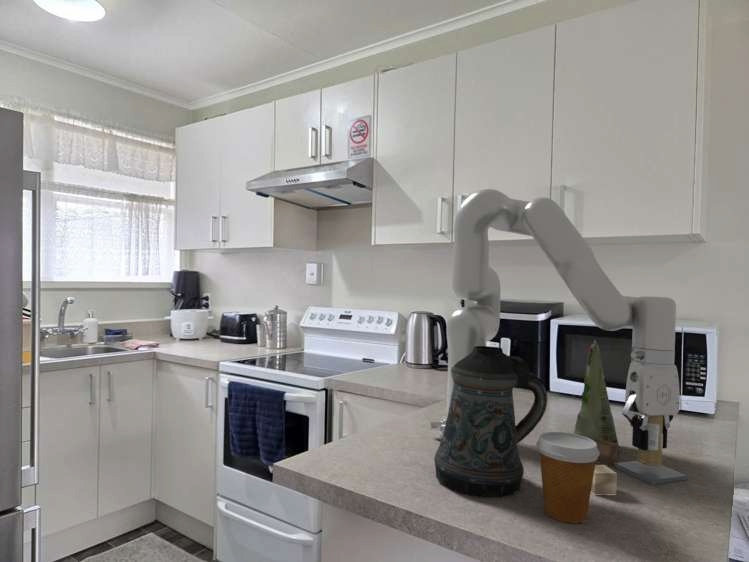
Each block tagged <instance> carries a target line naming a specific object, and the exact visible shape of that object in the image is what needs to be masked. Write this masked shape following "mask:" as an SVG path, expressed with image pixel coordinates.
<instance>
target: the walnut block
mask: <svg viewBox="0 0 749 562" xmlns="http://www.w3.org/2000/svg"><path fill="white" fill-rule="evenodd" d="M594 441H595V442H596V444H597V449H598V450H599V452H600V454H599V456H598V459H597V460H596V463H597V462H599V463H598V464H601V463H602V464H601V465H604V464H605V466H607V465H608V466H612V465H614V464H615V462H616V463H618V452H617V443H613V442H609V441H605V440H602V439H597V440H594ZM613 463H614V464H613ZM611 464H612V465H611ZM608 466H607V467H608Z"/></svg>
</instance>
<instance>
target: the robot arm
mask: <svg viewBox="0 0 749 562" xmlns="http://www.w3.org/2000/svg"><path fill="white" fill-rule="evenodd" d="M489 228H492V229H494V230H497V231H500V232H506V233H511V234H517V235H523V236H528V237H529V236H530V237H532V238H533V240H534V241H535V242H536V243H537V245H538V246H539V248H540V249H541V251H542V252H543V253H544V254H545V256H546V258H547V259H548V260H549V262H550V263H551V265H552V266H553V267H554V269H555V270H556V272H557V274H558V275H559V277H560V278H561V279H562V281H563V282H564V284H565V285H566V287H567V288H568V289H569V291H570V292H571V294H572V295H573V297H574V298H575V300H576V301H577V302H578V304H579V305H580V307H581V308H582V310H583V311H584V312H585V314H586V315H587V316H588V318H589V319H590V320H591V322H592V323H594V325H595V326H597V327H598V328H599V329H601V330H603V331H610V332H611V331H612V332H614V331H618V330H621V329H632V333H631V335H632V340H631V353H630V357H631V362H630V363H629V367H628V373H627V376H626V377H627V378H626V386H625V397H624V398H625V399H624V400H625V403H624V404H625V405H624V406H623V408H622V409H621V415H622V416H623V417H625V419H627V420H628V422H629V424H630V427H631V428H632V439H631V440H632V441H631V445H632V447H634V448H637V449H638V448H639V449H642V450H644V451H645V450H648V430H646V426H647V422H648V417H649V416H663V431H662V433H663V447H662V450H664V449H667V448H668V447H667V446H668V429H669V428H670V427H671V422H672V421H673V420H674V417H675V416H676V415H677V414H678V413H679V411H680V406H681V405H680V402H681V401H680V399H681V397H680V396H681V395H680V394H681V393H680V379H679V373H678V367H677V365H676V364H675V355H676V351H675V349H676V348H675V347H676V327H677V326H676V323H677V322H676V321H677V318H676V317H677V304H676V301H675V300H674V299H673V298H671V297H665V296H648V295H647V296H639V297H637V296H636V297H635V296H630V295H629V296H627V295H622V294H621V293H620V291H619V290H618V289H617V287H616V286H615V285H614V284H613V282H612V281H611V279H610V278H609V277H608V275H607V274H606V273H605V271H604V270H603V268H602V267H601V265H600V264H599V262H598V260H597V258H596V256H595V254H594V250H592V248H591V245H590V244H589V243H588V242H587V241H586V239H585V238H584V237H583V235H582V234H581V233H580V232H579V231H578V229H577V228H576V226H575V225H574V224H573V222H571V220H570V218H569V217H568V216H567V215H566V213H565V211H564V209H563V208H562V207H561V206H560V205H559V204H558V203H557V202H556V201H554V199H551V198H549V197H543V196H542V197H537V198H533V199H532V200H531V201H529V200H522V199H521V200H520V199H514V198H511V197H509V196H508V195H506V194H505V193H504V192H501V191H500V190H497V189H493V188H492V189H491V188H485V189H480V190H477V191H476V192H474V193H472V194H471V195H469V196H468V197H467V198H465V200H464V201H463V202H462V203H461V204H460V206H459V209H458V210H457V213H456V216H455V219H454V228H453V229H454V230H453V231H454V232H453V257H452V259H453V260H452V290H453V292H454V294H455V295H456V296H457V298H459V299H461V300H464V306H463V307H459V308H458V309H456V310H455V311H453V312H452V314H451V315H450V316H449V318H448V319H447V323H446V331H445V332H446V341H447V386H446V387H447V388H446V389H447V391H446V392H447V393H446V413H445V414H444V415H442V418H440V419H439V420H428V421H427V428H428V430H437V431H438V432H439V433H438V434H439V435H440V436H441V437H442V436H443V433H444V430H445V425H446V421H447V416H448V411H449V406H450V400H451V395H452V391H453V384H454V382H453V379H452V374H451V369H452V367H453V366H454V365H455V364H456V363H457V362H458V361H460V360H462V359H463V358H465V357H466V356H468V355H469V354H470V353H472V352H473V349H474V347H475V346H487V342H489V341H491V340H493V338H495V337H496V336H497V334H498V332H499V328H500V321H501V281H500V277H499V275H498V273H497V271H495V269H494V268H492V267H491V266H489V260H490V259H489V254H490V253H489V252H490V243H489V242H490V241H489V235H488V233H489ZM639 416H642V417H641V421H640V420H639Z"/></svg>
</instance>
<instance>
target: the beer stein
mask: <svg viewBox="0 0 749 562" xmlns="http://www.w3.org/2000/svg"><path fill="white" fill-rule="evenodd" d="M451 374H452V379H453V382H454V384H453V391H452V395H451V400H450V406H449V411H448V416H447V421H446V425H445V430H444V433H443V436H441V440H440V443H439V445H438V448H437V450H436V452H435V454H434V459H433V460H434V466H435V468H434V469H435V477H436V480H437V481H438V482H439V485H440V486H443V487H445V488H446V489H448V490H451V491H453V492H455V493H458V494H462V495H466V496H470V497H476V498H488V499H491V498H492V499H494V498H495V499H498V498H503V497H510V496H513V495H514V494H516V493H517V492H519V491H520V488H521V484H522V481H523V476H524V472H525V471H524V470H525V469H524V466H523V462H522V460H521V457H520V453H519V449H518V446H517V445H518V443H521V442H522V441H523V440H524V439H525V438H526V437H527V436H528V435H529V434H531V433H532V432H533V431H534V429H535V428H536V427H537V426H538V424H539V423H540V421H541V420H542V418H543V417H544V414H545V413H546V410H547V407H548V406H547V405H548V392H547V390H546V387H545V385H546V383H545V382H544V381H543V379H542V378H539V377H538V376H537V375H536V374H534V373H532V372H530V367H529V363H527V362H526V361H524V360H523V359H522V358H520V357H519V356H514V355H507V354H506V353H504V352H503V348H502V347H497V346H489V345H486V346H475V347H474V349H473V352H472V353H470V354H469V355H468V356H466V357H465V358H463V359H462V360H460V361H458V362H457V363H456V364H455V365H454V366H453V367H452V369H451ZM514 387H516V388H526V389H529V390H530V391H531V392H532V394H533V395H534V400H533V403H532V406H531V407H530V409H529V411H528V412H527V414H526V415H525V416H524V417H523V418H522V419H521V420H520V421H518V423H517V424H516V413H515V405H514V395H513V394H514V393H513V390H514ZM509 495H510V496H509Z"/></svg>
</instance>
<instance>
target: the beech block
mask: <svg viewBox="0 0 749 562" xmlns="http://www.w3.org/2000/svg"><path fill="white" fill-rule="evenodd" d="M617 475H618V473H617V472H616V471H614V470H613V469H611V468H610V467H608V466H607V465H604V464H595V470H594V476H593V481H592V487H591V491H592V492H593V493H594V494H604V495H603V496H608V495H607V494H616V495H617V484H618V483H617V481H618V480H617V479H618V477H617ZM593 493H592V494H593ZM594 494H593V495H594ZM605 494H606V495H605Z"/></svg>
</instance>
